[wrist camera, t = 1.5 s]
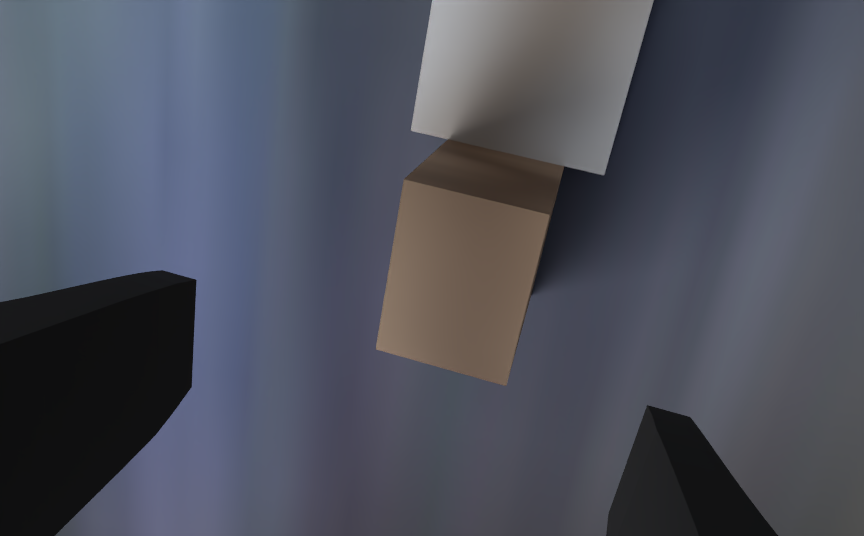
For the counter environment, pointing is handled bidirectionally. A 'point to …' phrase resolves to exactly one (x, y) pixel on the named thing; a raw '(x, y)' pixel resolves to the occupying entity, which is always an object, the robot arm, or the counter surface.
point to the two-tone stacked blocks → (499, 166)
